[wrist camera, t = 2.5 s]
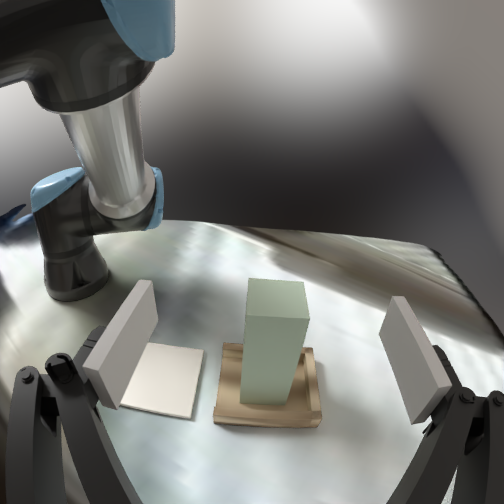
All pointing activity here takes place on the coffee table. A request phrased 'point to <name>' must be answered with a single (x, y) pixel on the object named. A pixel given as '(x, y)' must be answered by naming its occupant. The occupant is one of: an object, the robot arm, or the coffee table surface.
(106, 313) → the coffee table surface
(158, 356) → the pad
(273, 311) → the tall block
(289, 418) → the shallow wooden tray
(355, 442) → the coffee table surface
